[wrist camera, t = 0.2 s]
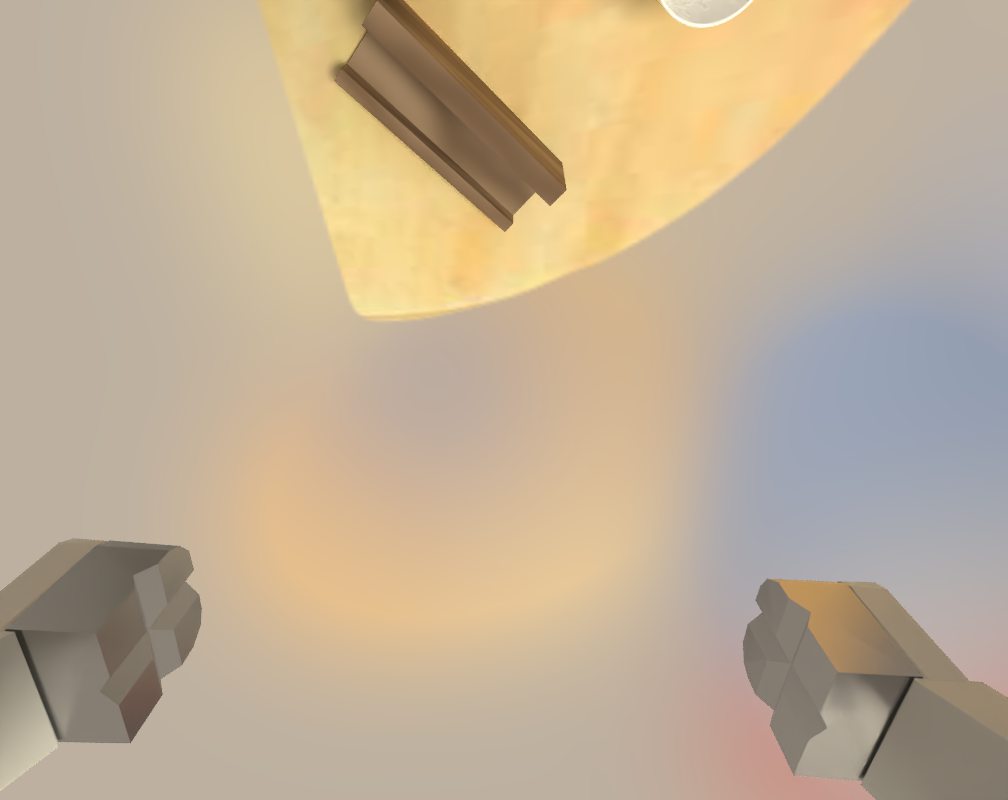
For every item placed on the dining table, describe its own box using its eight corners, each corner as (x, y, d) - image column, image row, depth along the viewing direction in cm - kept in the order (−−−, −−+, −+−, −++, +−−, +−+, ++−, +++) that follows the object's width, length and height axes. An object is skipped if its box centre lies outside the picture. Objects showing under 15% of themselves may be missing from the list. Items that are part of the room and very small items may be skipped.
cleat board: (393, -10, 44) (376, 0, 39) (562, 162, 53) (566, 189, 48) (341, 74, 49) (319, 93, 43) (505, 221, 57) (503, 252, 52)
